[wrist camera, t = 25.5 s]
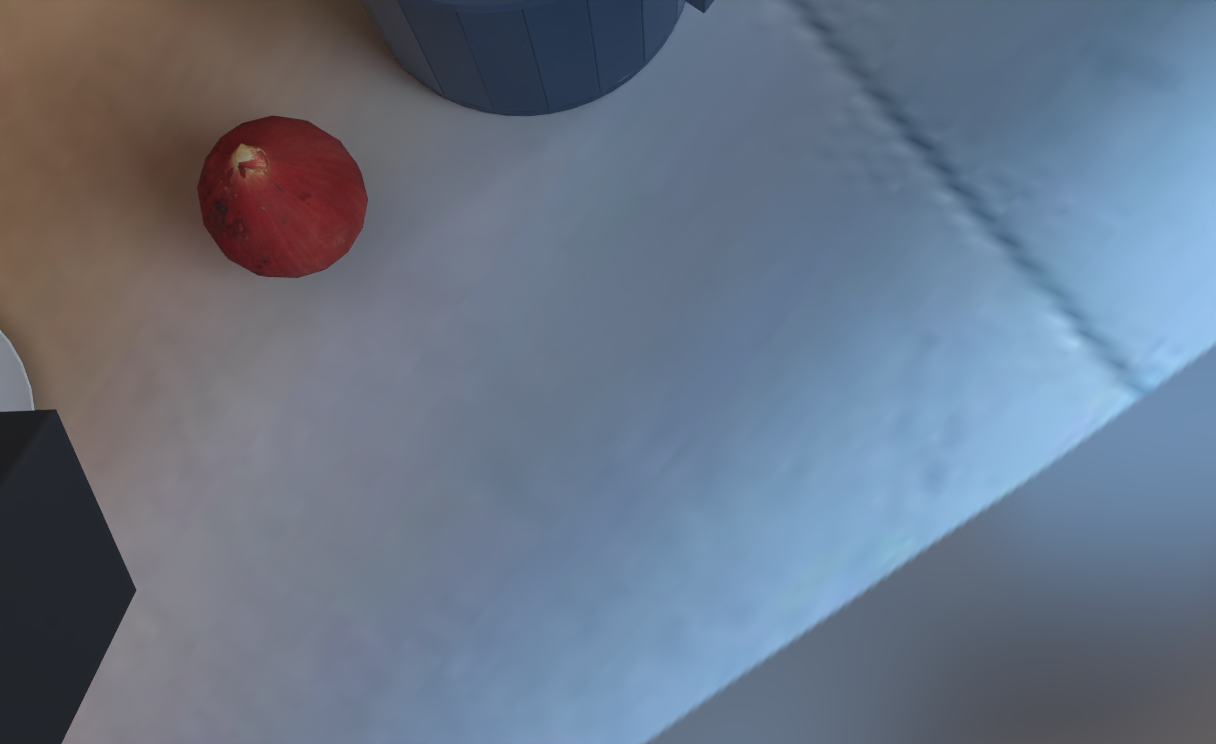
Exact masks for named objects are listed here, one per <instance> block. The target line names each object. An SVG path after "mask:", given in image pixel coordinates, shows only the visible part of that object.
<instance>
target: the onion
mask: <svg viewBox="0 0 1216 744" xmlns="http://www.w3.org/2000/svg"><path fill="white" fill-rule="evenodd" d="M197 189H198V195H199V201H200V206H201V212H202V217H203V224H204V226H205V227H206V229H207V230H208V232H209V233H210V235H211V236H212V238H213V239H214V240H215V242H216V243H217V245H218V246H219V248H220V249H221V251H222V252H223V253H224V254H225V256H226V257H227V258H228V259H229V260H231V261H233V262H235V263H237V264H238V265H240V266H242V267H244V268H246V269H248V270H249V271H251V272H253V273H255V274H257V275H259V276H265V277H288V278H299V277H302V276H305V275H309V274H312V273H315V272H319V271H322V270H325V269H327V268H328V267H329V266H331V265H332V264H333V263H334V262H336V261H337V260H338V259H340V258H341V257H342V256H344V255H345V254H346V253H347V252H348V251H349V250H350V248H351V246H352V244H353V243H354V241H355V239H356V238H357V236H358V234H359V233H360V231H361V229H362V228H363V223H364V217H365V212H366V207H367V201H368V198H367V194H366V190H365V186H364V182H363V178H362V174H361V171H360V169H359V167H358V165H357V163H356V162H355V160H354V159H353V158H352V156H351V155H350V154H349V152H348V151H347V150H346V148H345V147H344V146H343V144H342V143H341V142H340V141H339V140H338V139H336V138H334V137H333V136H331V135H330V134H328V133H326V132H325V131H323V130H321V129H320V128H318V127H317V126H315V125H313V124H312V123H310V122H308V121H305V120H300V119H293V118H285V117H278V116H269V117H265V118H261V119H257V120H253V121H249V122H245V123H242V124H240V125H239V126H237V127H236V128H234V129H233V130H231V131H230V132H228V133H227V134H225V135H224V136H223V137H221V138H220V139H219V141H218V142H217V143H216V145H215V146H214V147H213V149H212V150H211V152H210V153H209V154H208V156H207V157H206V159H205V162H204V165H203V169H202V172H201V176H200V179H199V183H198V186H197Z"/></svg>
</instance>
